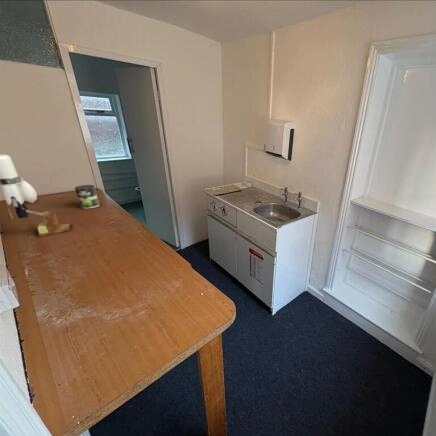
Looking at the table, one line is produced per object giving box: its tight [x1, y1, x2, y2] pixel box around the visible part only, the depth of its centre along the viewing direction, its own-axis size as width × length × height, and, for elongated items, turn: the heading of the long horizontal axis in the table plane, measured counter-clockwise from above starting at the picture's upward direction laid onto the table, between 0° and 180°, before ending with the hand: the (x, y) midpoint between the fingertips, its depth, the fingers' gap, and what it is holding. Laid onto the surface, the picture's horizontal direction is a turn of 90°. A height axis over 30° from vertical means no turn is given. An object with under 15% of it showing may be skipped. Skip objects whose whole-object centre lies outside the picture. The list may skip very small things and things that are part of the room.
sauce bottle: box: [19, 177, 38, 204], centre depth 161 cm, size 8×8×18 cm
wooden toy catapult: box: [37, 209, 71, 237], centre depth 126 cm, size 12×9×11 cm
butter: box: [37, 225, 48, 234], centre depth 123 cm, size 3×4×3 cm
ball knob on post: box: [24, 208, 48, 216], centre depth 121 cm, size 13×3×3 cm, turn 128°
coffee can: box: [74, 184, 100, 210], centre depth 160 cm, size 10×10×14 cm
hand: (24, 215), depth 119 cm, fingers open, 3 cm apart
